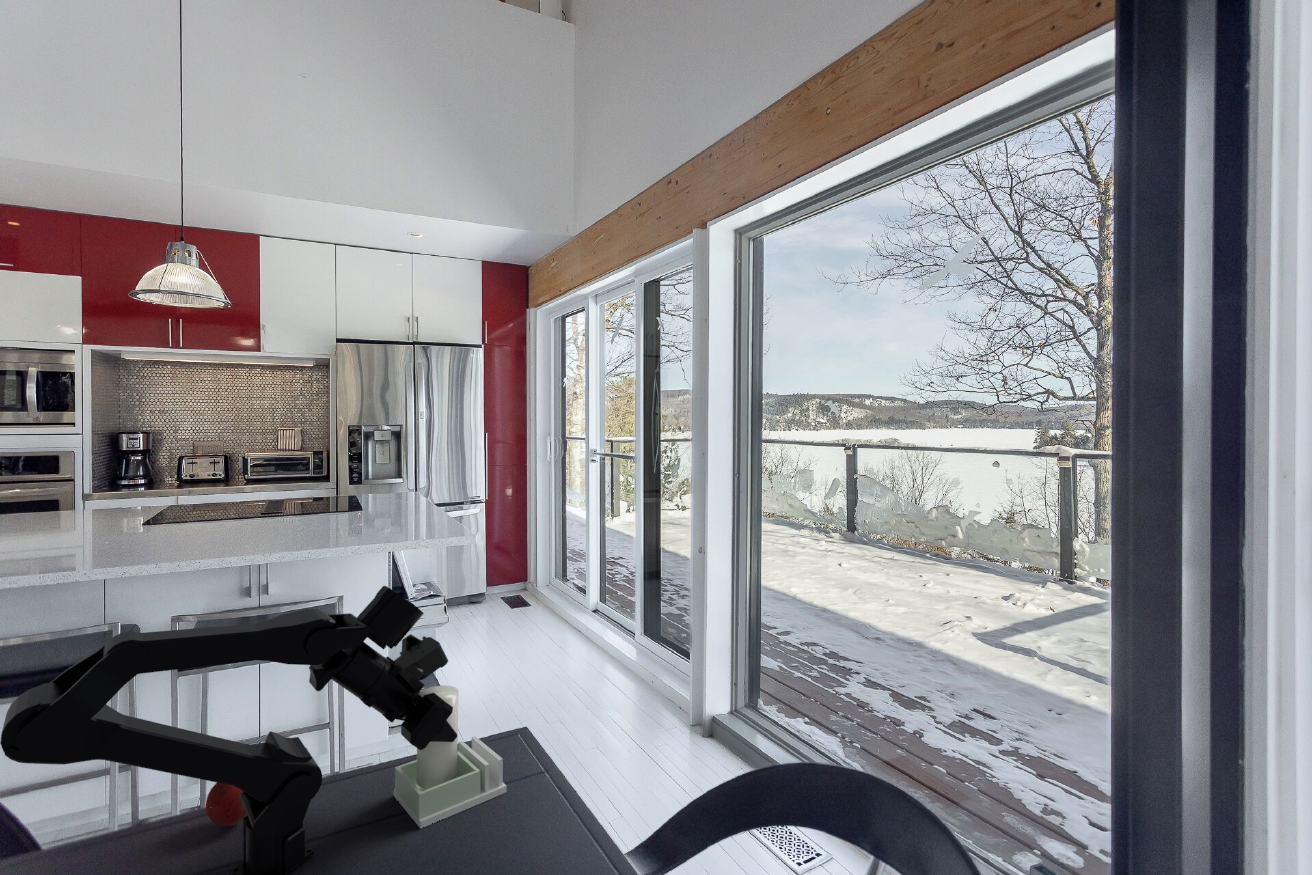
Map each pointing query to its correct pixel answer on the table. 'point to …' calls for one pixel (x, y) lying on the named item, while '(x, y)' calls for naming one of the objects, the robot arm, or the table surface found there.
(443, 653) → the robot arm
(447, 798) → the pale green holder box
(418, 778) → the off-white round-top cylinder
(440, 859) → the table surface
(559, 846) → the table surface
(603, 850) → the table surface
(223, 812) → the red rounded egg shape
